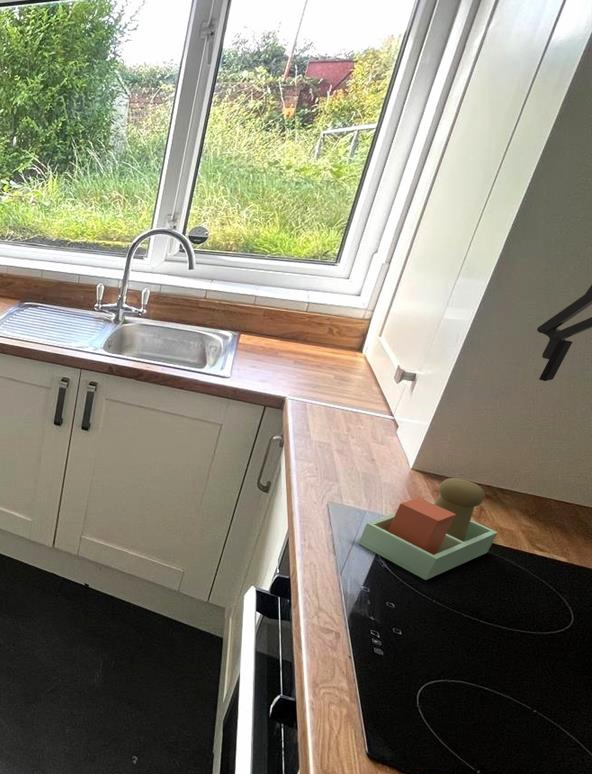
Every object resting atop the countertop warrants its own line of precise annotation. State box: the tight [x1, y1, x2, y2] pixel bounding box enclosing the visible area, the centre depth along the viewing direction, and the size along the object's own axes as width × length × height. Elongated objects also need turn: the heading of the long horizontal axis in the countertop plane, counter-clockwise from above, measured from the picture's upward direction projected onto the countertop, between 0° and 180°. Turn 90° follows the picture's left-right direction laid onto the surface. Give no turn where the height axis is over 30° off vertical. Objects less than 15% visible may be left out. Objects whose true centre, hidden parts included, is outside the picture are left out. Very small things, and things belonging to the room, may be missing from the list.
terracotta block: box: [388, 496, 456, 555], centre depth 92 cm, size 5×5×8 cm
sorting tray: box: [357, 500, 499, 581], centre depth 95 cm, size 18×9×4 cm, turn 113°
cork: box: [433, 477, 486, 542], centre depth 95 cm, size 6×6×11 cm
